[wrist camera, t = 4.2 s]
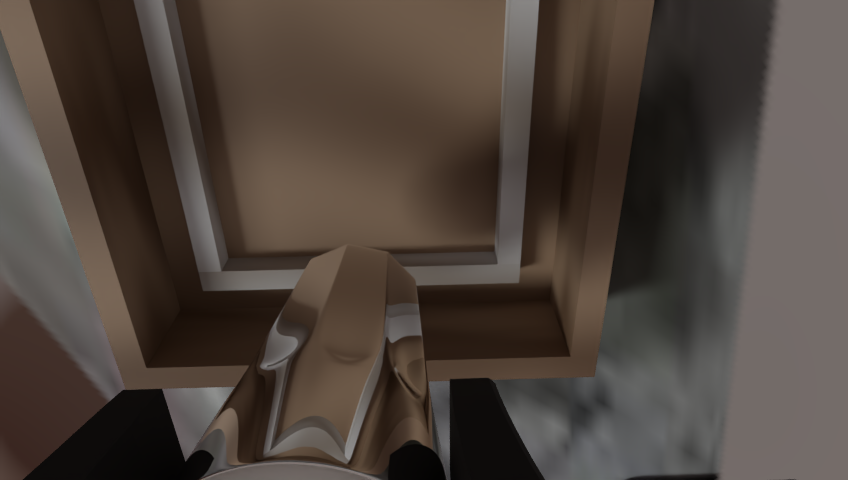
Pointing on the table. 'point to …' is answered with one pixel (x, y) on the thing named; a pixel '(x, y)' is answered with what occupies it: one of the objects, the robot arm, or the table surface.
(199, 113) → the socket box
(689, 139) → the table surface
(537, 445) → the table surface
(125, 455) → the robot arm
